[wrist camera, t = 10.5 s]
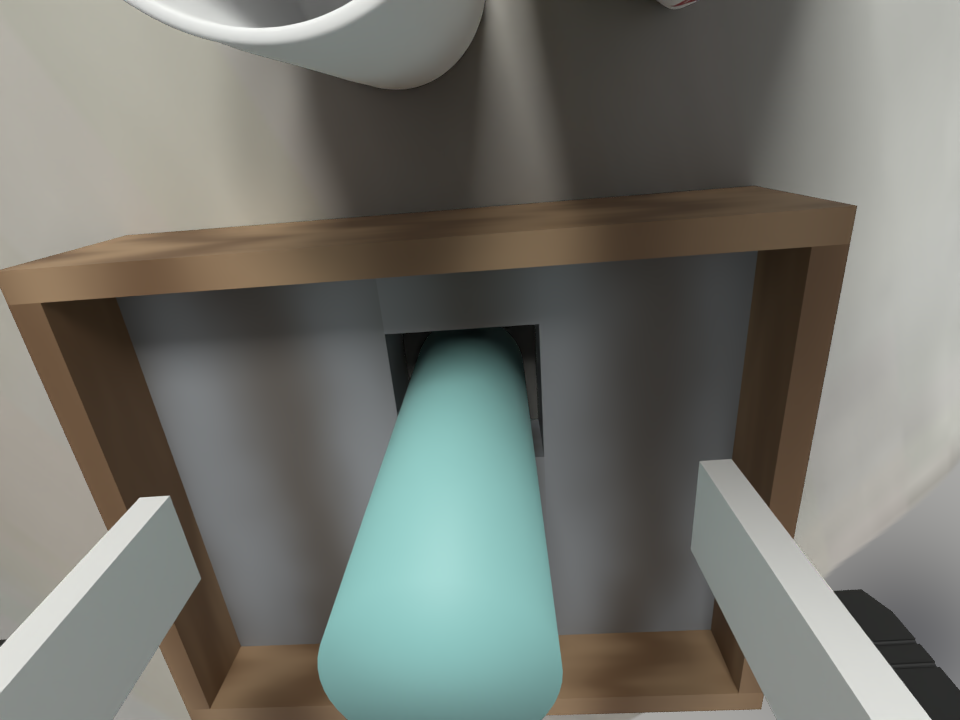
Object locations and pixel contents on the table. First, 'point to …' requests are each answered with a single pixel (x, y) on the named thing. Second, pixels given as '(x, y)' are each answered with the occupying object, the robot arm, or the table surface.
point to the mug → (336, 33)
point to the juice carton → (676, 3)
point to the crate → (381, 390)
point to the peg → (450, 553)
